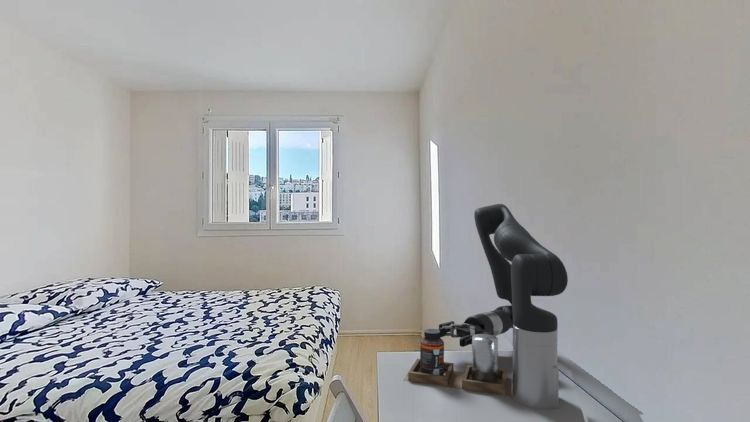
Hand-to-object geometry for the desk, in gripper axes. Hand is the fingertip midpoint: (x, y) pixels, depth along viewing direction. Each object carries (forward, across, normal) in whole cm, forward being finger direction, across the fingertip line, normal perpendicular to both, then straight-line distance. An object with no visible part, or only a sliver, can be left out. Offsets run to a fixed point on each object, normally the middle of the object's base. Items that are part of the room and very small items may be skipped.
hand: (447, 338), depth 104 cm
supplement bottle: (+6, 0, +8) cm, 10 cm away
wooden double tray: (+3, +6, +9) cm, 11 cm away
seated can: (0, +11, +8) cm, 14 cm away
